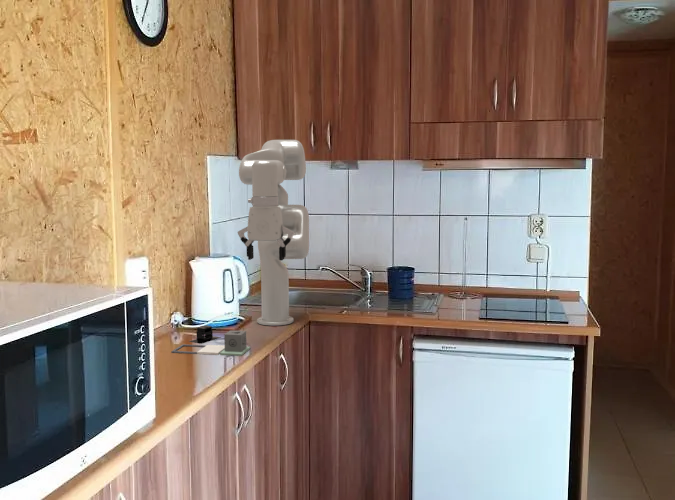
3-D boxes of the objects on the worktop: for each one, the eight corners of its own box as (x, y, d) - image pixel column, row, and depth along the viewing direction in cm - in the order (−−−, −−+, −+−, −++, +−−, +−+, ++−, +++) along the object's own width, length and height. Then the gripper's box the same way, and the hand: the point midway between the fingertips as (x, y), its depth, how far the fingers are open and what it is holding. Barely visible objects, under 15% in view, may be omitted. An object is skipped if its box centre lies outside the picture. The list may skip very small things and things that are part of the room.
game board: (182, 345, 210) (182, 343, 210) (250, 348, 206) (250, 346, 206) (171, 352, 202) (171, 350, 202) (241, 356, 198) (241, 353, 198)
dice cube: (241, 352, 200) (240, 335, 200) (224, 351, 201) (224, 334, 201) (246, 347, 205) (246, 331, 205) (230, 346, 206) (230, 330, 206)
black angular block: (199, 347, 211) (199, 332, 210) (181, 344, 215) (181, 329, 214) (226, 338, 221) (226, 324, 221) (209, 335, 225) (208, 321, 225)
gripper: (233, 203, 204) (234, 260, 206) (290, 203, 201) (291, 261, 203) (241, 201, 211) (242, 257, 214) (296, 202, 208) (297, 258, 210)
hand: (266, 259), depth 208 cm, fingers open, 9 cm apart
